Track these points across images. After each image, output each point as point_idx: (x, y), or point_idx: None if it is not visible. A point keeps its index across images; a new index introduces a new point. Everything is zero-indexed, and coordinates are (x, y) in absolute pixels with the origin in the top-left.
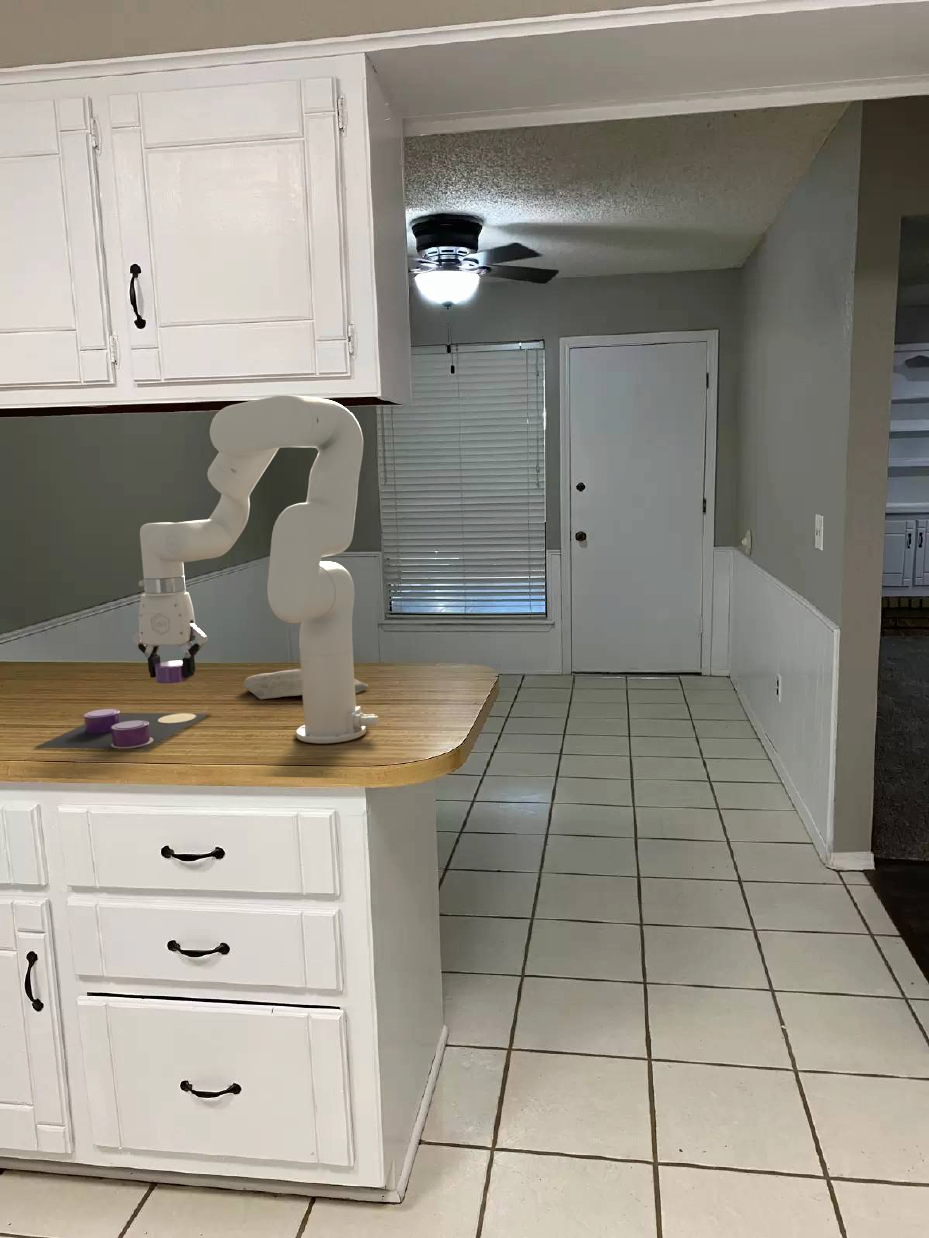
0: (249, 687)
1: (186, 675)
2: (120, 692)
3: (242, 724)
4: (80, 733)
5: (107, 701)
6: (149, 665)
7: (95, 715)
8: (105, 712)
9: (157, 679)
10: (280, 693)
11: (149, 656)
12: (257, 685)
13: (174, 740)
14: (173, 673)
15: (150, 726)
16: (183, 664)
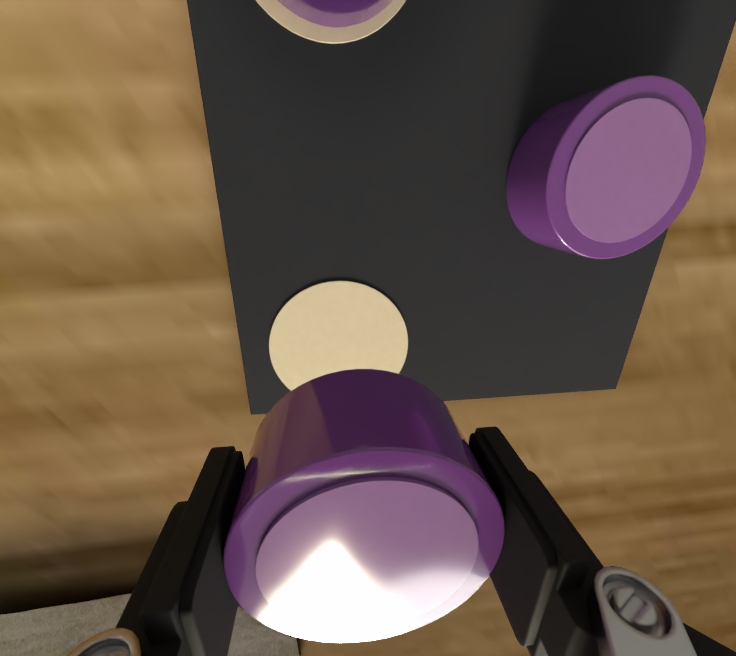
0: (251, 628)
1: (208, 459)
2: (648, 567)
3: (17, 319)
4: None
5: (660, 500)
6: (541, 491)
7: (644, 108)
8: (609, 179)
9: (422, 392)
10: (117, 610)
11: (596, 585)
12: None
13: (149, 23)
14: (287, 433)
15: (388, 231)
16: (195, 539)
